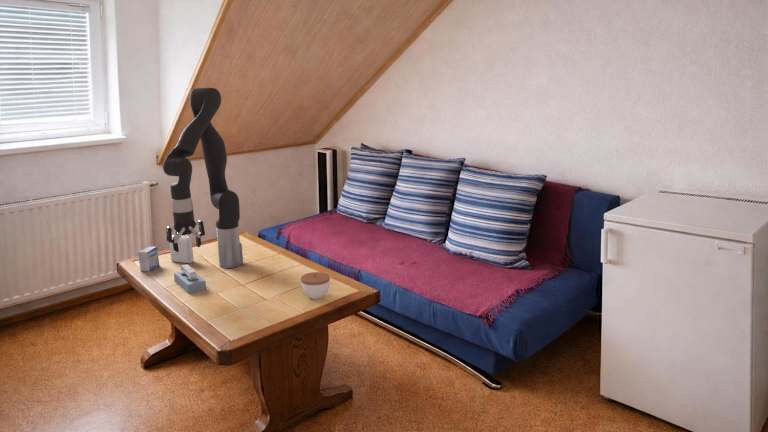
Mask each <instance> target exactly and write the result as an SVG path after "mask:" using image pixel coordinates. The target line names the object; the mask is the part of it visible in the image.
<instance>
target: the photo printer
mask: <svg viewBox="0 0 768 432" xmlns="http://www.w3.org/2000/svg"><path fill="white" fill-rule="evenodd" d="M173 237H174V234H172V239H173ZM192 241H193V240H192V239H191V237H190V236H188V235H187V234H186V235H184V236H183V235H181V237H180V238H179V239H178V241H177V243H178V249H179V252H176V251H174V249H173V243H169V242H168V243H169V245H168V246H169V252H170V260H171V262H175V263H182V264H192V263H193V262H194V261H195V260H194V252H193V250H194V249H193V242H192Z"/></svg>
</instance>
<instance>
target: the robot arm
mask: <svg viewBox="0 0 768 432" xmlns="http://www.w3.org/2000/svg"><path fill="white" fill-rule="evenodd" d="M189 103H190V108H191V112H192V115H193V119H192V121H191V122H190V123H188V125H187V126H186V127H185V128H184V129H183V130H182V132H181V133H180V136H179V139H178V140H177V143H176V145H175V146H174V148H172V149H171V151H170V152H169V153H168V154H167V156H166V157H165V159H164V161H163V164H162V170H163V173H165V174H166V175H167V176H170V177H178V181H175V182H173V183H170V184H171V185H170V187H169V188H170V194H171V209H172V218H173V226H169V225H168V226H166V227H165V232H166V241H167V242H168V243H173V249H174V251H176V252H179V249H178V243H177V241H178V239H179V238H180V237H181V235H183V236H184V235H186V236H187V235H191V234H193V235H194V236H195V245H196V247H197V248H201V246H202V237H203V236H205V235H206V231H205V226H204V221H202V220H201V219H198V220H196V221H195V213H194V204H193V200H192V194H191V188H190V187H191V180H192V175H193V164H192V163H191V160H190V159H188V158H189V157H192V156H193V155H194V154H195V152H196V149H197V147H198V146H199V145H198V144H199V142H200V145H201V152H202V156H203V160H204V165H205V169H206V173H207V177H208V183H209V194H210V197H209V198H210V202H211V205H212V206H213V207H214V208H215V209H217V210H218V219H217V220H216V221H215V230H216V240H217V253H218V265H219V267H220V268H224V269H233V268H237V267H240V266H241V265H244V256H243V244H242V242H241V240H240V229H239V221H240V218H241V217H240V215H241V214H240V199H239V196H238V194H237V193H236V192H235V191H233V190H230V189H229V187H228V184H227V179H226V168H227V164H228V156H227V155H228V154H227V150H226V144H225V142H224V140H223V137H222V136H221V135H220V133H219V132H218V130H217V129H216V128H215V127H214V125H213V124H212V122H211V121H212V119H213V118H214V117H215V116H216V114H217V112H218V110H219V109H220V107H221V103H222V95H221V93H220V91H219V90H218V89H217V88H215V87H196V88H193V89H192V90H191V91H190V93H189ZM196 226H197V227H198V231H197V230H195V228H196ZM174 230H175V232H174ZM172 233H174V234H172ZM172 235H174V237H173V239H172Z"/></svg>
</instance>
